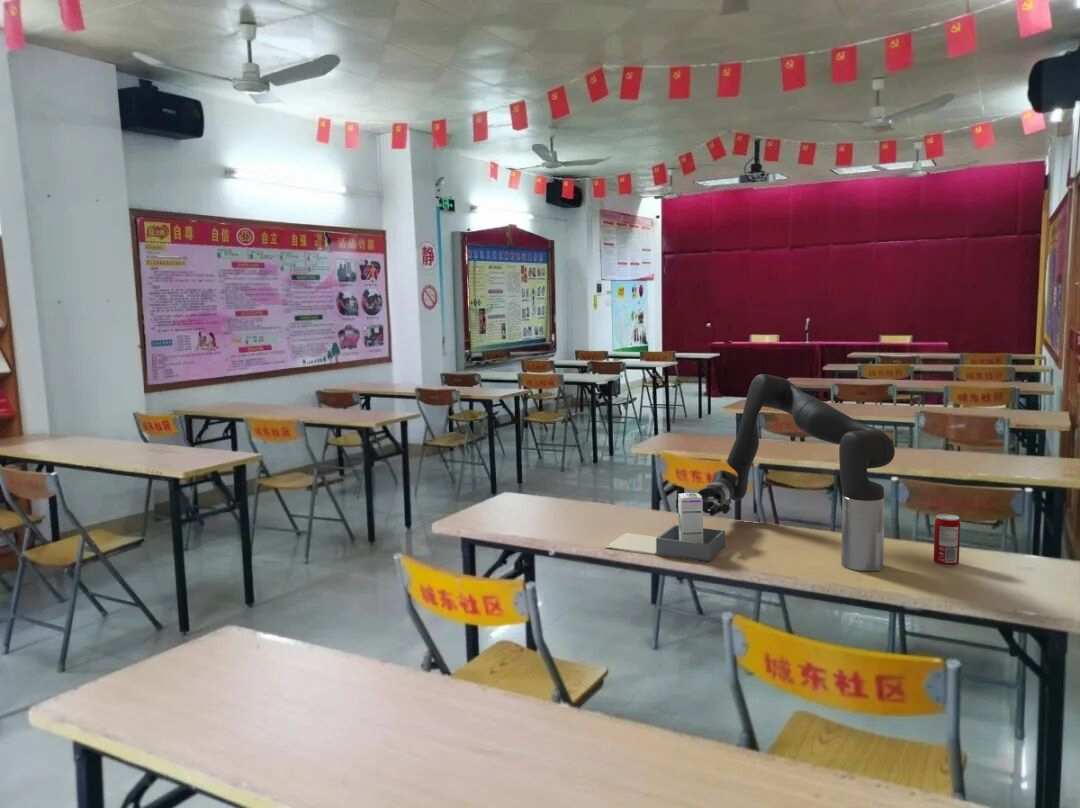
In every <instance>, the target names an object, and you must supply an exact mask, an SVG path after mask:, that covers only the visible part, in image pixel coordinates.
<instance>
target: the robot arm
mask: <svg viewBox="0 0 1080 808" xmlns="http://www.w3.org/2000/svg"><path fill="white" fill-rule="evenodd" d="M747 392H748V393H747V395H746V399H745V404H744V406H743V411H742V416H741V418H740V419H741V420H740V425H739V428H738V432H737V435H736V437H735V440H734V441H733V442H734V443H733V444H732V447H731V450H730V451H729V455H728V457H727V459H726V460H727V461H726V463H727V464H728V466H729V468H731V469H733V471H735V472H736V474H737V475H735V474H733V473H732V472H730V471H728V470H726V469H725V470H724V469H722V470H721V469H720V470H718V471H716V472H715V474H714V475H713V478H712V481H711V483H707V485H705V486H704V487H702V488H701V489H700V490H699V491H698V492H697V493H699V494H700V496H701V497H702V504H703V513H704V514H708V515H709V516H710V517H714V516H715V515H717V514H720V513H721V512H722V514H724V515H725V514H726V515H727V514H728V513H729V512H730V511H731V510H732V501H735V502H738V501H741V500H742V499H744V498H745V496H746V494H747V491H748V484H749V476H750V471H751V467H752V465H753V462H754V460H755V457H756V456H757V455H756V454H757V453H758V450H759V445H760V439H759V429H758V417H759V414H760V412H761V410H762V408H763V407H765V408H770V409H775V410H781V411H783V412H785V413H787V414H789V415H790V416H792V420H793V422H794V423H795V426H797V427H798V428H799V429H800V430H801V431H803V432H805V433H807V434H808V435H809V436H810V437H813V438H815V439H818V440H821V441H823V442H828V443H832V444H837V445H839V448H838V449H839V450H838V451H839V452H838V454H839V455H838V456H839V457H838V459H839V480H840V484H841V487H842V488H841V489H842V501H841V502H842V505H841V506H842V507H841V508H842V514H841V554H840V555H841V556H840V558H841V561H840V562H841V565H842V566H843V567H845V568H847V569H849V570H854V571H862V572H872V571H873V572H875V571H876V572H881V570H882V569H881V568H883V566H884V553H885V552H884V549H885V547H884V544H885V541H884V540H885V526H884V509H885V506H884V503H885V502H884V501H885V498H884V497H885V489H884V486H883V485H882V484H881V483H878V482H875V481H871V480H870V479H869V477H868V476H869V475H868V470H869V469H878V468H881V467H885V466H887V465H889V464H890V463H891V462H892V461H893V460H894V457H895V454H896V453H895V452H896V450H895V446H894V443H893V441H892V439H891V438H890V437H889V435H888V434H887V433H886V432H884V431H882V430H880V429H878V428H875V427H872V426H870V425H868V424H865V423H862V422H860V421H858V420H856V419H854V418H852V417H850V416H849V415H847V414H846V413H843V412H841V411H840V410H838V409H836V408H835V407H833V406H831V405H830V404H828V403H827V402H824V401H823V400H821V399H819V398H817V397H815V396H813V395H811V394H807V393H806V392H804V391H802V390H801V389H800V388H798V387H797V386H796V385H795V384H794V383H792V381H790V380H788V379H787V378H783V377H780V376H775V375H771V374H765V373H760V374H758V375H756V376H754V378H753V379H752V381H751V383H750V386H749V387H748V391H747ZM675 509H677V511H678V512H679V509H678V498H676V499H675Z"/></svg>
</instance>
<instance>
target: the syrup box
mask: <svg viewBox="0 0 1080 808" xmlns="http://www.w3.org/2000/svg"><path fill="white" fill-rule="evenodd" d="M677 499H678V509H679V511H678V525H679V541H687V542H695V543H703V528H704V516H703V515H704V512H703V504H702V497H701V496H700V494H699V493H698V492H683V493H678V498H677ZM678 509H677V510H678Z"/></svg>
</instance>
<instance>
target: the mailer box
mask: <svg viewBox="0 0 1080 808" xmlns="http://www.w3.org/2000/svg"><path fill="white" fill-rule="evenodd" d="M609 545H610V546H607V545H605V546H606V547H610V548H614V549H613V550H615V549H618V550H617V551H622V552H623V551H624V552H630V553H638V554H646V555H651V556H655V555H656V556H659V557H666V556H667V557H668V558H673V557H675V558H674V559H681V558H685V559H684V560H688V559H692V560H691V561H695V560H698V562H702V561H706V562H705V563H710V562H711V561H712V560H713V559H714V558H716V557H717V556H718V555H719V553H721V552H722V551H723V550H724V549H725V548H726V530H720V529H712V528H704V527H703V543H695V542H687V541H679V524H674V525H672V526H671V527H670V528H668V529H667V530H666V531H664V532H663V533H662V534H660V535H658V536H653V535H644V534H639V533H638V534H636V533H628V532H627V533H626V532H624V534H622V535H620V536H619V537H617V538H616V539H615V540H613V541H611V542H610V543H609ZM722 549H723V550H722ZM721 550H722V551H721ZM720 551H721V552H720Z"/></svg>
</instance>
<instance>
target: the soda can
mask: <svg viewBox="0 0 1080 808" xmlns="http://www.w3.org/2000/svg"><path fill="white" fill-rule="evenodd" d="M934 520H935V521H934V534H933V535H934V536H933V537H934V540H933V562H934V563H935V564H936V565H937V564H939V565H938V566H940V565H942V567H945V566H955V567H957V566H958V565H959V564H960V544H961V543H960V541H961V521H960V517H959V516H958V515H955V514H954V515H953V514H945V513H942V514H937V515H936V517H935V519H934ZM956 565H957V566H956Z"/></svg>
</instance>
